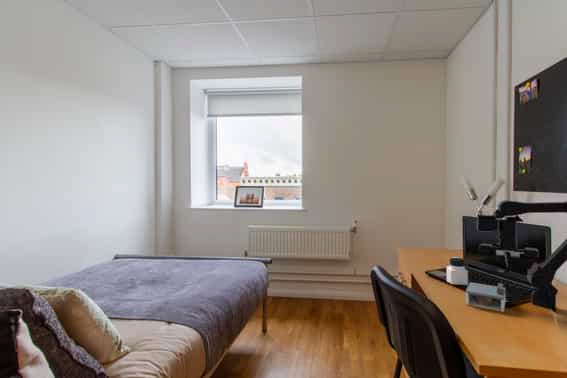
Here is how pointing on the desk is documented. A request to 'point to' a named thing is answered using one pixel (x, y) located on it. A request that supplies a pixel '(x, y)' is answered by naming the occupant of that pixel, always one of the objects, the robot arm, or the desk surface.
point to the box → (474, 301)
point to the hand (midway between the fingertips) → (507, 272)
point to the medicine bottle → (457, 271)
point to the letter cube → (485, 300)
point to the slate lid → (486, 290)
